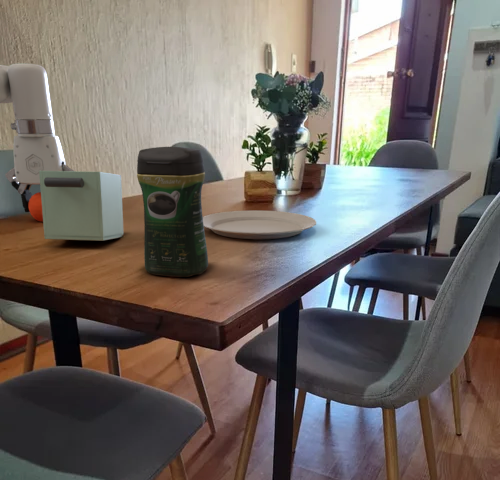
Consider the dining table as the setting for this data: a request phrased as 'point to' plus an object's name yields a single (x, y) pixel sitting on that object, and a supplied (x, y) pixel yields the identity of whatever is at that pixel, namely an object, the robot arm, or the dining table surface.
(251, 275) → the dining table surface
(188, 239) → the coffee jar
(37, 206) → the clementine
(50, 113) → the robot arm
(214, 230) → the plate
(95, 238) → the pale sage cube
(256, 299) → the dining table surface
